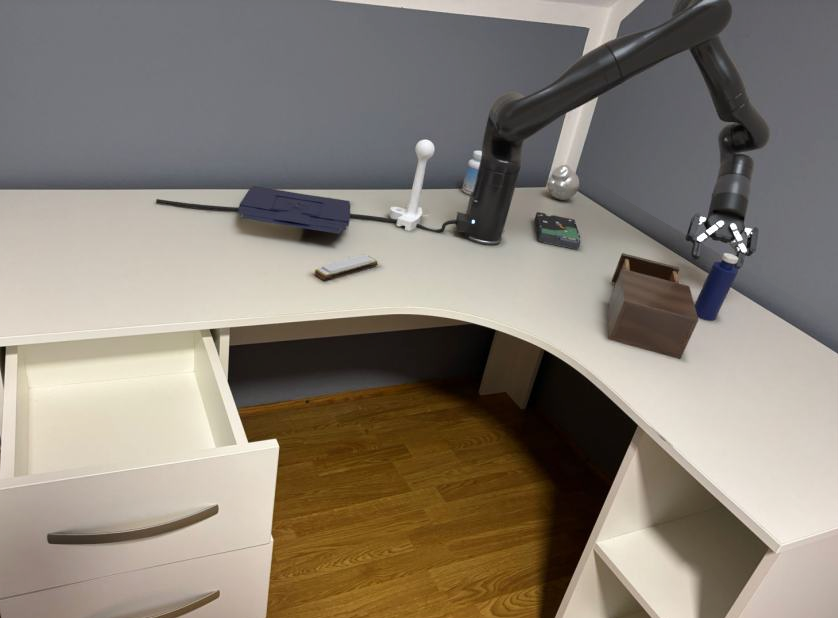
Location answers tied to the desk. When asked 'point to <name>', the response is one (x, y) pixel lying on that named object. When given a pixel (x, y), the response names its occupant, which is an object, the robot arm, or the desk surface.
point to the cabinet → (651, 313)
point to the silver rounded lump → (563, 183)
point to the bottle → (716, 287)
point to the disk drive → (557, 230)
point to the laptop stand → (295, 209)
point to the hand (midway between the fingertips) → (715, 264)
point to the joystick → (414, 189)
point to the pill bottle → (472, 172)
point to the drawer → (646, 268)
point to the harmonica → (345, 267)
